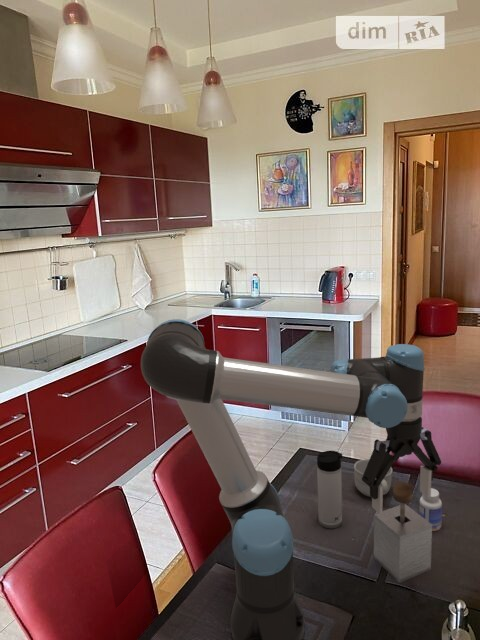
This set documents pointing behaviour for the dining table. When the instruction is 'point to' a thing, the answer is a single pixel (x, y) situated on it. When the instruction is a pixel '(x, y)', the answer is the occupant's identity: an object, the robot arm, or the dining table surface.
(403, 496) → the plunger
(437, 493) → the pill bottle
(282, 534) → the robot arm
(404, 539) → the grey block with hole
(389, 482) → the teacup
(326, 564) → the dining table surface
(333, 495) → the travel mug
